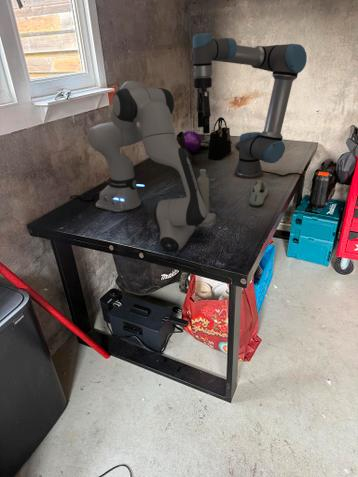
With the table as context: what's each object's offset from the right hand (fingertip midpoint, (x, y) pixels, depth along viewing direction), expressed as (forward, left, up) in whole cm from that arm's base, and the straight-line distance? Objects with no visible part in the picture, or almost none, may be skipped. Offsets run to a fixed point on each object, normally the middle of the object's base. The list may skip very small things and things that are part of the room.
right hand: (203, 130), depth 146 cm
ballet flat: (-26, -5, -33) cm, 42 cm away
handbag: (+4, -72, -33) cm, 80 cm away
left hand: (-2, +27, -26) cm, 38 cm away
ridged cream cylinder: (-3, +16, -33) cm, 37 cm away
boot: (+24, -54, -33) cm, 68 cm away
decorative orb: (+26, -78, -33) cm, 88 cm away
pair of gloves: (+18, -101, -33) cm, 108 cm away
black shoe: (-19, -99, -33) cm, 106 cm away
